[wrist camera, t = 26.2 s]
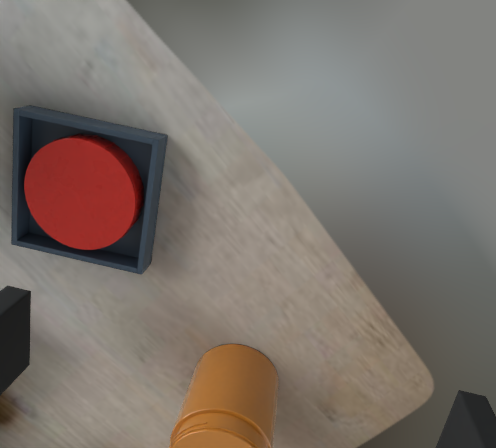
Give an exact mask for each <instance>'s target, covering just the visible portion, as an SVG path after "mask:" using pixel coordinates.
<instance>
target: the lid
mask: <svg viewBox="0 0 496 448" xmlns="http://www.w3.org/2000/svg"><path fill="white" fill-rule="evenodd" d="M143 188H144V187H143V183H142V179H141V176H140V174H139V170H138V169H137V167H136V166H135V164H134V163H133V161H132V160H131V158H130V157H129V156H128V154H126V153H125V152H124V151H123V150H122V149H121V148H120V147H118V146H117V145H116V144H114V142H113V143H112V142H111V141H109V140H107V139H104V138H102V137H99V136H98V135H89V134H80V133H79V134H76V135H71V136H68V137H65V138H64V137H62V138H59V139H56V140H53V142H51V143H49V144H47V145H45V146H44V147H43V148H41V149H40V150H39V151H38V152H37V153H36V154H35V155H34V157H33V158H32V159H31V161H30V163H29V165H28V168H27V170H26V174H25V181H24V190H25V197H26V201H27V204H28V207H29V209H30V212H31V214H32V215H33V217H34V219H35V220H36V222H37V223H38V224H39V226H40V227H41V228H42V229H43V230H44V231H45V232H46V233H47V234H48V235H50V236H51V237H52V238H54V239H55V240H57V241H58V242H60V243H62V244H64V245H67V246H69V247H73V248H76V249H83V250H94V249H100V248H104V247H107V246H109V245H111V244H113V243H115V242H116V241H118V240H119V239H120V238H122V237H123V236H125V235H126V234H127V233H128V232H129V229H130V228H131V227H132V226H133V225H134V224H135V223H136V222H137V221H138V220H139V219H138V218H139V216H140V213H141V211H142V207H143V205H144V204H143V201H144V189H143Z"/></svg>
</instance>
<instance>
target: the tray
mask: <svg viewBox="0 0 496 448" xmlns="http://www.w3.org/2000/svg"><path fill="white" fill-rule="evenodd" d="M79 133H80V134H89V135H98V136H99V137H102V138H104V139H107V140H109V141H111V142H112V143H113V142H114V144H116V145H117V146H118V147H120V148H121V149H122V150H123V151H124V152H125V153H126V154H128V156H129V157H130V158H131V160H132V161H133V163H134V164H135V166H136V167H137V169H138V170H139V174H140V176H141V179H142V183H143V187H144V188H143V189H144V201H143V204H144V205H143V207H142V211H141V213H140V216H139V218H138V219H139V220H138V221H137V222H136V223H135V224H134V225H133V226H132V227H131V228H130V229H129V232H128V233H127V234H126V235H125V236H123V237H122V238H120V239H119V240H118V241H116V242H115V243H113V244H111V245H109V246H107V247H104V248H100V249H94V250H83V249H76V248H73V247H69V246H67V245H64V244H62V243H60V242H58V241H57V240H55V239H54V238H52V237H51V236H50V235H48V234H47V233H46V232H45V231H44V230H43V229H42V228H41V227H40V226H39V224H38V223H37V222H36V220H35V219H34V217H33V215H32V214H31V212H30V209H29V207H28V204H27V201H26V197H25V190H24V181H25V174H26V170H27V168H28V165H29V163H30V161H31V159H32V158H33V157H34V155H35V154H36V153H37V152H38V151H39V150H40V149H41V148H43V147H44V146H45V145H47V144H49V143H51V142H53V140H56V139H59V138H62V137H64V138H65V137H68V136H71V135H76V134H79ZM166 144H167V135H165V134H160V133H156V132H151V131H146V130H142V129H137V128H133V127H128V126H123V125H119V124H114V123H110V122H105V121H100V120H96V119H91V118H87V117H82V116H77V115H73V114H68V113H64V112H59V111H54V110H50V109H45V108H41V107H36V106H31V105H30V106H25V107H19V108H14V116H13V178H12V240H11V244H13V245H17V246H21V247H26V248H30V249H34V250H38V251H43V252H47V253H51V254H56V255H60V256H64V257H69V258H73V259H77V260H81V261H86V262H90V263H94V264H99V265H103V266H107V267H112V268H116V269H120V270H124V271H129V272H133V273H137V274H143V272H144V271H145V270H146V269H147V267H148V266H149V265H150V263H151V258H152V250H153V243H154V235H155V227H156V220H157V212H158V205H159V197H160V190H161V182H162V174H163V167H164V159H165V152H166Z"/></svg>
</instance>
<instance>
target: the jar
mask: <svg viewBox="0 0 496 448" xmlns="http://www.w3.org/2000/svg"><path fill="white" fill-rule="evenodd" d="M278 387H279V380H278V375H277V372H276V370H275V367H274V366H273V364H272V363H271V362H270V360H269V359H268V358H267V357H266V356H265V355H263V354H262V353H260V352H259V351H257V350H255V349H253V348H251V347H248V346H245V345H239V344H226V345H221V346H217V347H215V348H213V349H211V350H209V351H208V352H206V353H205V354H204V355H203V356H202V357H201V358H200V360H199V361H198V363H197V365H196V368H195V371H194V373H193V376H192V379H191V382H190V384H189V387H188V390H187V393H186V395H185V398H184V401H183V404H182V406H181V409H180V412H179V415H178V417H177V420H176V423H175V426H174V428H173V431H172V434H171V438H170V446H169V448H273V441H274V430H275V420H276V409H277V398H278Z"/></svg>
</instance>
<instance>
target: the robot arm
mask: <svg viewBox="0 0 496 448" xmlns="http://www.w3.org/2000/svg"><path fill="white" fill-rule="evenodd" d="M30 303H31V291H28V290H23V289H19V288H15V287H10V286H6V287H5V288H4V289H2V290H1V291H0V395H1V394H2V393H3V392H4V391H5V390H6V389H7V388H8V387H9V386H10V385H11V384H12V382H13V381H14V380H15V379H16V378H17V377H18V376H19V375H20V374H21V373H22V372H23V371H24V370H25V369H26V368H27V367H28V366H29V359H30ZM436 448H496V416H495V414H494V412H493V410H492V408H491V406H490V404H489V402H488V400H487V398H486V397H485V396H482V395H477V394H473V393H469V392H464V391H460V390H459V391H458V394H457V396H456V399H455V401H454V404H453V406H452V409H451V411H450V414H449V416H448V419H447V421H446V424H445V426H444V429H443V431H442V434H441V436H440V439H439V441H438V444H437V446H436Z"/></svg>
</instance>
